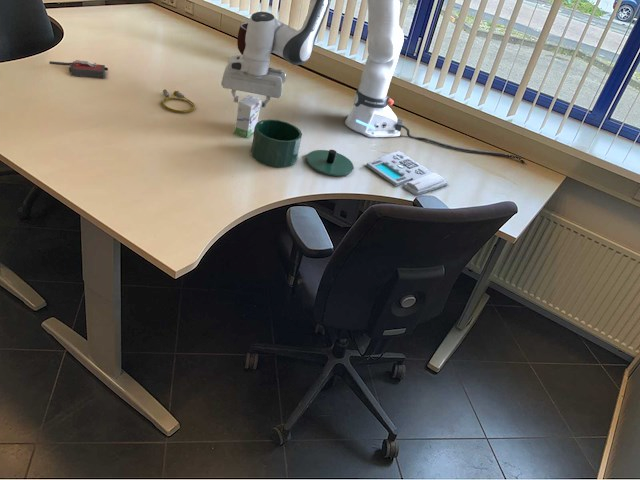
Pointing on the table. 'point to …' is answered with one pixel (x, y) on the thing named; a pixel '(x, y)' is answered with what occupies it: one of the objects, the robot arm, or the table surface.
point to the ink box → (247, 116)
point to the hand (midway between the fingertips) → (249, 104)
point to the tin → (276, 143)
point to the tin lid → (330, 162)
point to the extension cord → (176, 99)
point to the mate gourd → (242, 37)
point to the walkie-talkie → (84, 69)
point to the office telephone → (407, 173)
